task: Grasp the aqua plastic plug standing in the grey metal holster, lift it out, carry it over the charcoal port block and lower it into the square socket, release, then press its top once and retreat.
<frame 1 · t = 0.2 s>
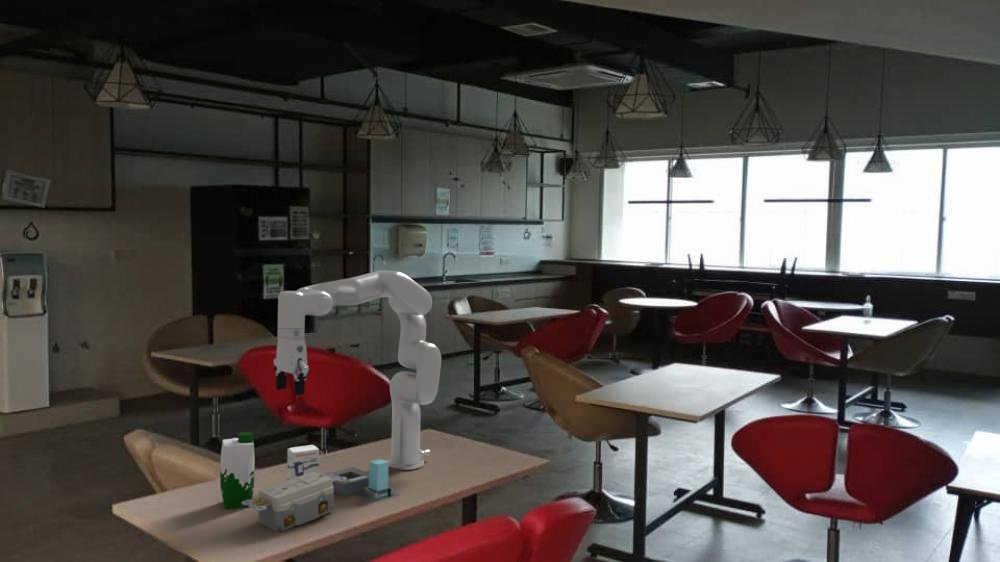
hand: (290, 391, 222), 31 cm above the table, tool pointing down, fingers open, 9 cm apart
ink box: (302, 486, 232), on the table
milk carton: (237, 504, 216), on the table
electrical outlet: (296, 520, 206), on the table
port: (348, 488, 231), on the table
plug: (378, 495, 224), point 1 cm above the table, touching holster
holster: (378, 496, 224), on the table
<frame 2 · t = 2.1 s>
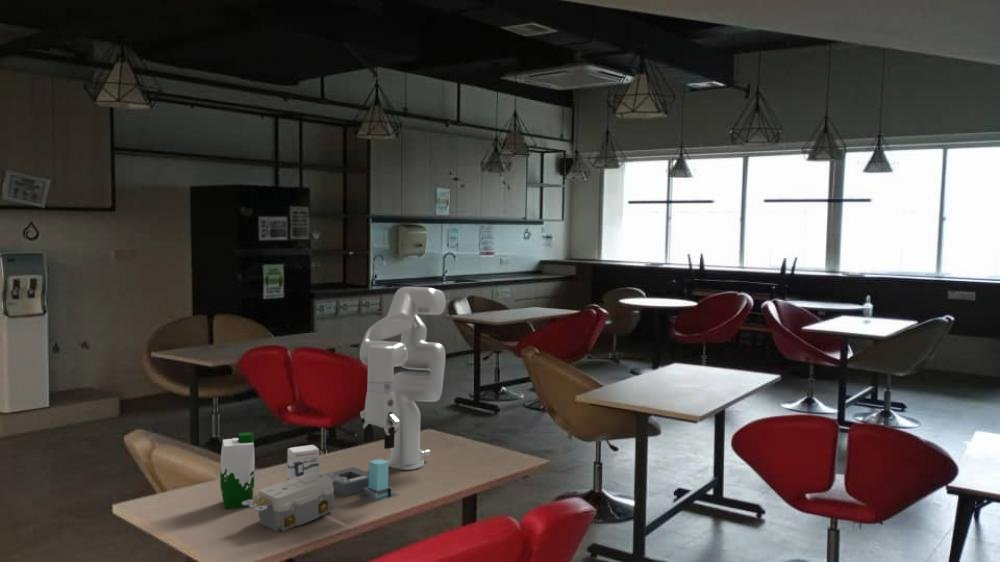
hand: (378, 444, 223), 16 cm above the table, tool pointing down, fingers open, 9 cm apart
nothing on the table moved.
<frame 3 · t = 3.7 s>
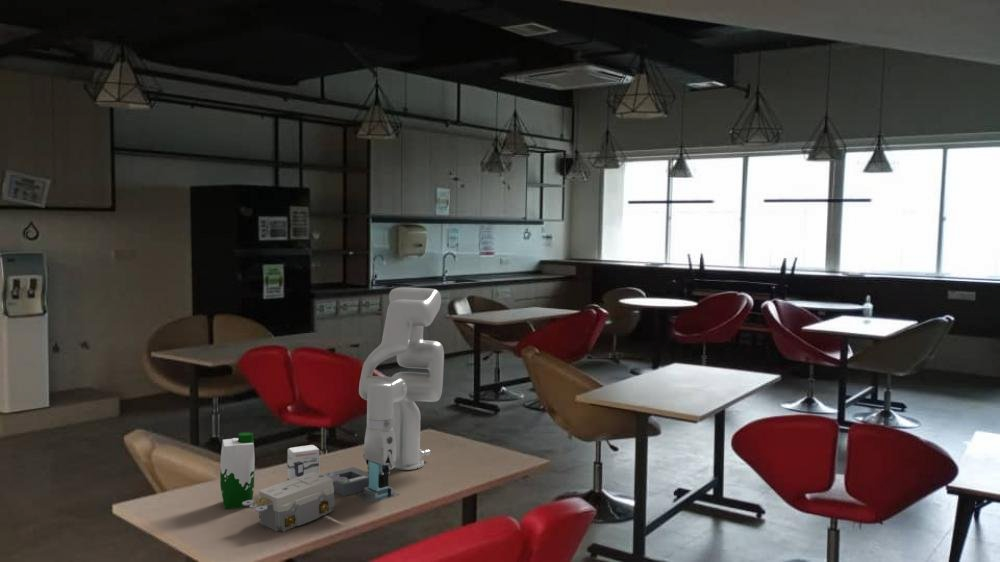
hand: (378, 484, 224), 4 cm above the table, tool pointing down, fingers closed on plug, 4 cm apart
plug: (378, 494, 224), point 1 cm above the table, touching gripper, holster
everything else where it was.
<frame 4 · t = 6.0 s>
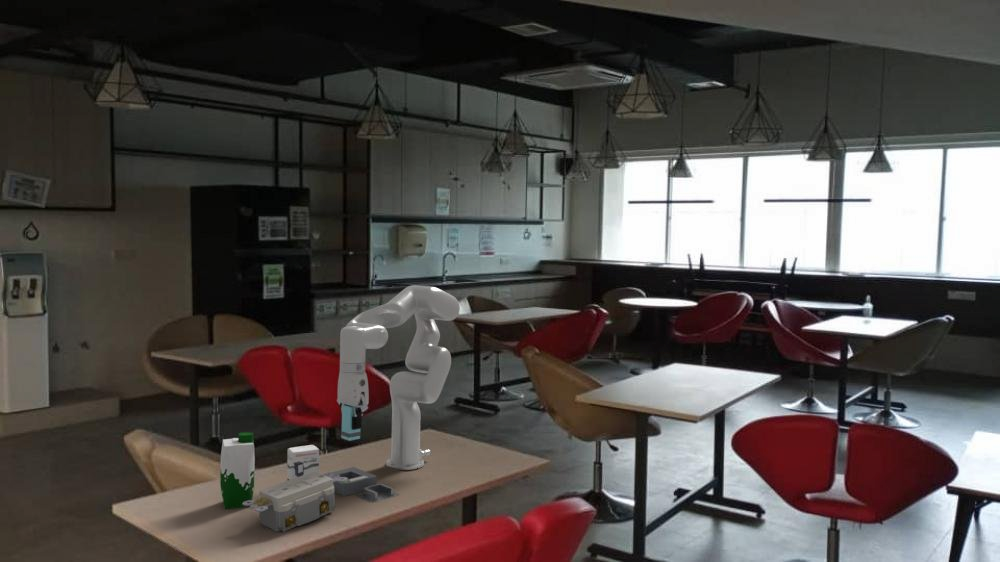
hand: (351, 426, 230), 19 cm above the table, tool pointing down, fingers closed on plug, 4 cm apart
plug: (350, 438, 230), point 16 cm above the table, touching gripper
everything else where it was.
when the fingers open (5 cm above the table, at t = 8.5 s): plug drops 2 cm, resting in port.
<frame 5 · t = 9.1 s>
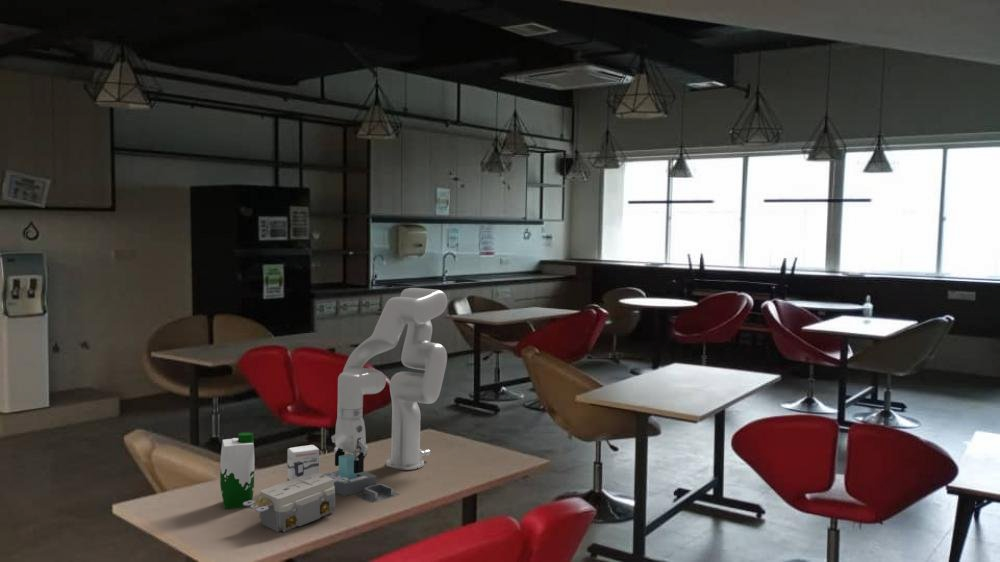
hand: (348, 468, 231), 6 cm above the table, tool pointing down, fingers open, 9 cm apart
plug: (347, 488, 231), resting in port
everything else where it was.
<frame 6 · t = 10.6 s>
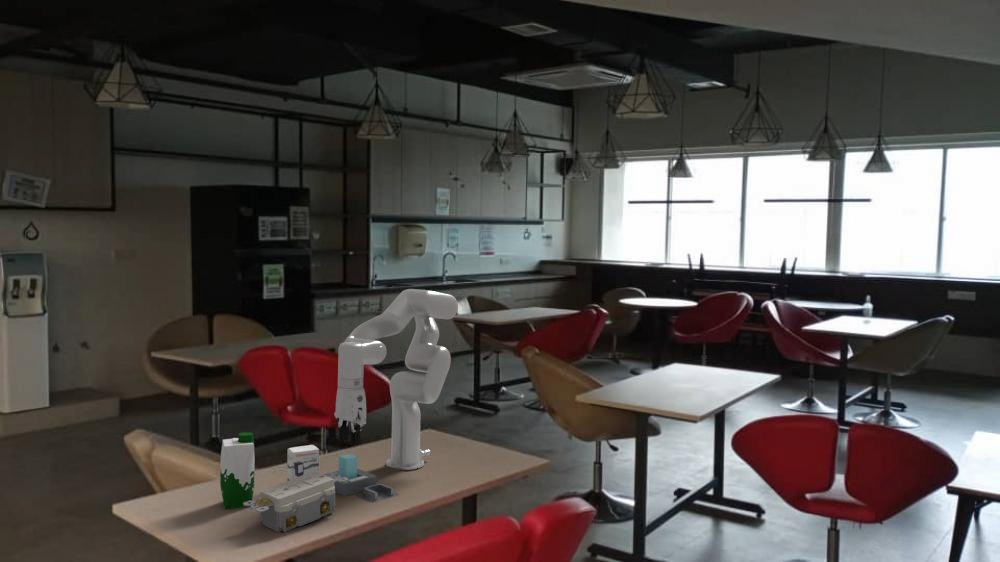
hand: (349, 441, 230), 14 cm above the table, tool pointing down, fingers open, 5 cm apart
nothing on the table moved.
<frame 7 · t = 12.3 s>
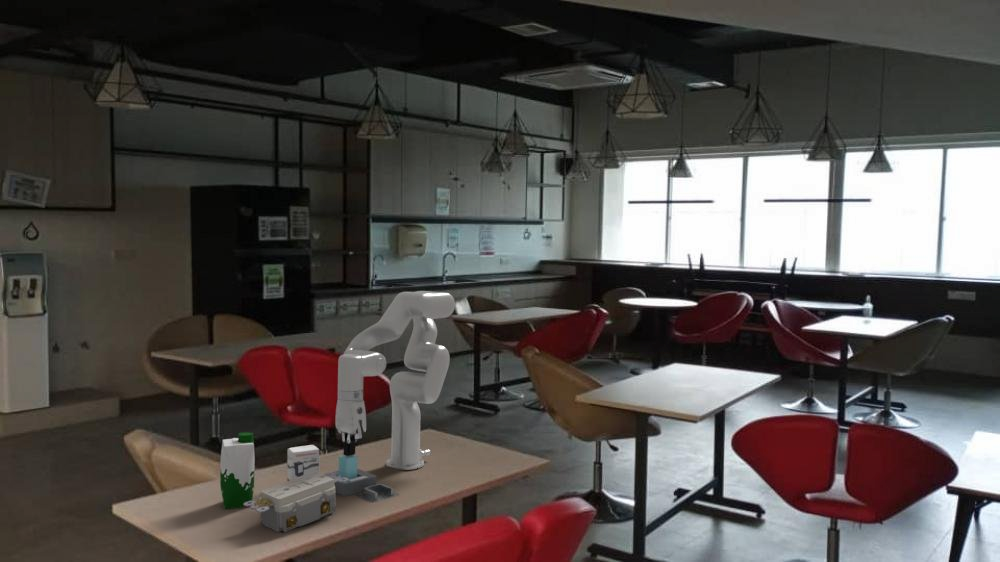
hand: (349, 454, 231), 10 cm above the table, tool pointing down, fingers closed
nothing on the table moved.
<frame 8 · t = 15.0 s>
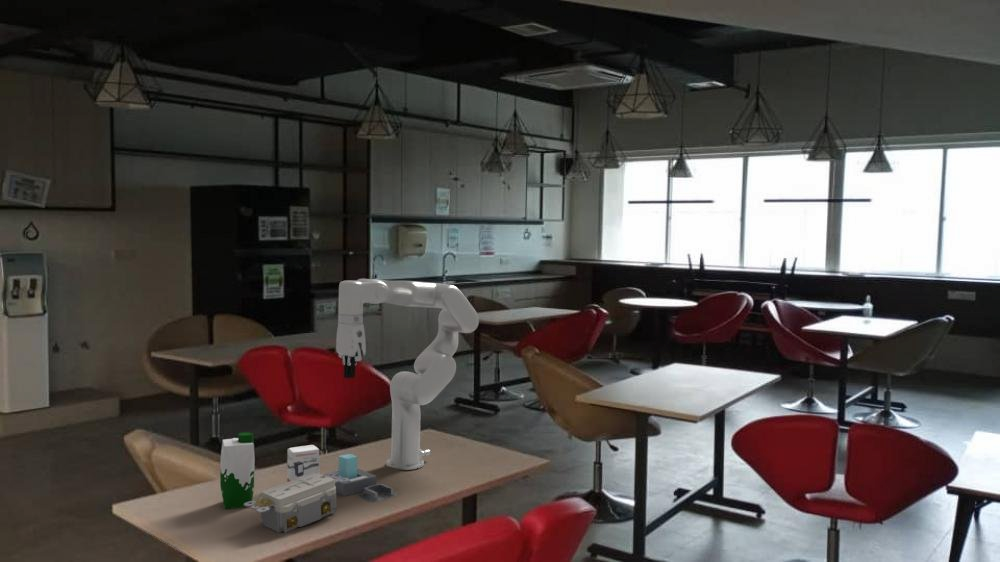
hand: (349, 377, 240), 32 cm above the table, tool pointing down, fingers closed
at the end: plug 0.3 cm off-centre on the port, point 0.0 cm above the port's base; plug tilted 0°; the gripper is holding nothing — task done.
